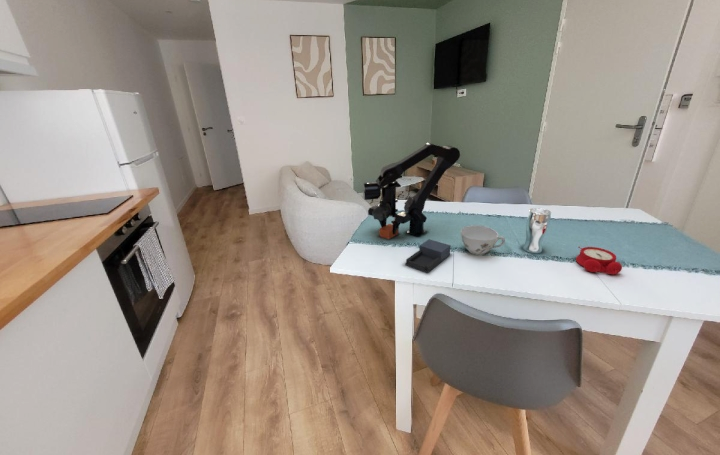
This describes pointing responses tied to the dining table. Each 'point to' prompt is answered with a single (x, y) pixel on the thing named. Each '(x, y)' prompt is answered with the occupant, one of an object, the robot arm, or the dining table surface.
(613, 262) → the alarm clock
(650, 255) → the dining table surface
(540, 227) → the beer glass
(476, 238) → the teacup
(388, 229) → the orange block
